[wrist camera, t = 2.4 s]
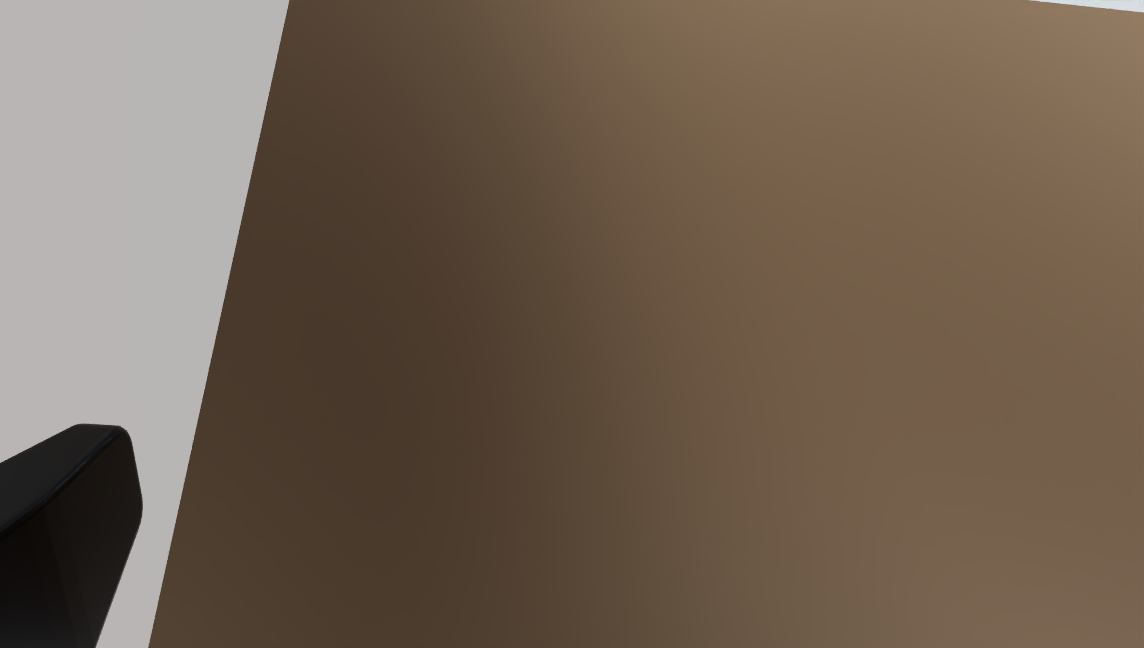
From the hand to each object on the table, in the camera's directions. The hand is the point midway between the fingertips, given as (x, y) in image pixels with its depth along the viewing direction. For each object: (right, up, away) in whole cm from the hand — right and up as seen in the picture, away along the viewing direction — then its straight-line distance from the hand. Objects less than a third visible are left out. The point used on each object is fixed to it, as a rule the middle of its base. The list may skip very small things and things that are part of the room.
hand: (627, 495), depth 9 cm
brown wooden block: (0, -2, +7) cm, 8 cm away
